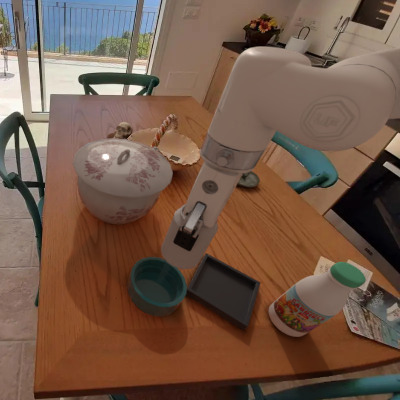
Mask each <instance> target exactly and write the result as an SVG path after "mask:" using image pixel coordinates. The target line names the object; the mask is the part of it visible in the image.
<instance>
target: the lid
mask: <svg viewBox="0 0 400 400" xmlns="http://www.w3.org/2000/svg"><path fill="white" fill-rule="evenodd" d="M260 181H261V179H260V176H259V175H258V174H257V173H256V172H254V171H253V170H252V171H250V172H248V173H242V176H241V178H240V180H239V182H238V183H237V185H236V186H239V187H243V188H255V187H257V186H258V185H259V184H260Z"/></svg>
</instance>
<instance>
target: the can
mask: <svg viewBox="0 0 400 400" xmlns="http://www.w3.org/2000/svg"><path fill="white" fill-rule="evenodd" d="M185 205H186V203H185V204H183V205H182V206H181V207H180V208H179V207H178V209H176V210H175V212H174V214H173V216H172V219H171V222H170V224H169V227H168V229H167V231H166V234H165V237H164V240H163V242H162V244H161V247H160V252H161V255H162V257H163V259H165V260H166V261H167V262H168V263H170V264H171V265H172V266H174V267H177V268H178V269H179V270H180V269H181V270H191V269H195V268H197V267H198V265H199V264H200V262H201V260H202V258H203V257H204V255H205V253H206V251H207V249H208V247H209V246H210V244H211V243H212V241H213V239H214V238H215V236H216V235H217V233H218V230H219V225H218V220H217V221H216V222H215V224H214V226H213V227H211V228H208V227H207V226H204V224H203V225H202V227H201V229H200V231H199V233H198V235H199V236H198V238H197V240H196V242H195V244H194V246H193V248H192V250H191V251H187V250H185V249H183V248H181V247H180V246H178V245H176V244H174V243H173V241H174V238H175V236H176V234H177V232H178V229H179V227H180V226H181V225H182V223H183V221H184V220H185V218H186V216H184V214H183V211H184V208H185ZM192 212H193V210H192ZM192 212H191V214H192ZM200 218H201V219H203V215H201V216H200ZM198 225H199V223H198V222H197V224H196V225H195V228H194V229H195V231H196V229H197V227H198Z"/></svg>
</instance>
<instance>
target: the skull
mask: <svg viewBox="0 0 400 400" xmlns="http://www.w3.org/2000/svg"><path fill="white" fill-rule="evenodd" d="M133 130H134V127H133V126H132V125H131V124H130V123H129V122H127V121H122V122H120V123H119V124H118V125H116V127H115V130H114V132H110V133H108V135H107V138H106V139H110V138H118V139H127V138H128V137H129V136H130V135H131V134H132V135H133V133H134V131H133ZM132 135H131V136H132Z"/></svg>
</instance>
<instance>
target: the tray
mask: <svg viewBox="0 0 400 400" xmlns="http://www.w3.org/2000/svg"><path fill="white" fill-rule="evenodd" d="M261 283H262V282H261V281H259V280H258V279H255V278H254V277H251V276H250V275H248V274H246V273H244V272H242V271H241V270H239V269H237V268H234V267H233V266H231V265H229V264H227V263H226V262H224V261H222V260H220V259H218V258H216V257H214V256H212V255H211V254H209V253H207V252H205V253H204V255H203V256H202V258H201V260H200V262H199V263H198V265H197V267H196V269H195V272H194V274H193V276H192V278H191V280H190V281H189V284H188V285H187V292H186V295H185V296H187V297H188V298H191V299H192V300H194V301H195V302H196V303H198V304H200V305H202V306H203V307H205V308H206V309H208V310H210V311H211V312H213V313H215V314H216V315H217V316H219V317H221V318H222V319H224V320H225V321H227V322H229V323H230V324H232V325H233V326H235V327H237V328H238V329H240V330H241V331H245V330H246V329H247V328H248V327H249V325H250V321H251V317H252V313H253V310H254V308H255V304H256V301H257V298H258V297H257V296H258V293H259V290H260V286H261Z"/></svg>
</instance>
